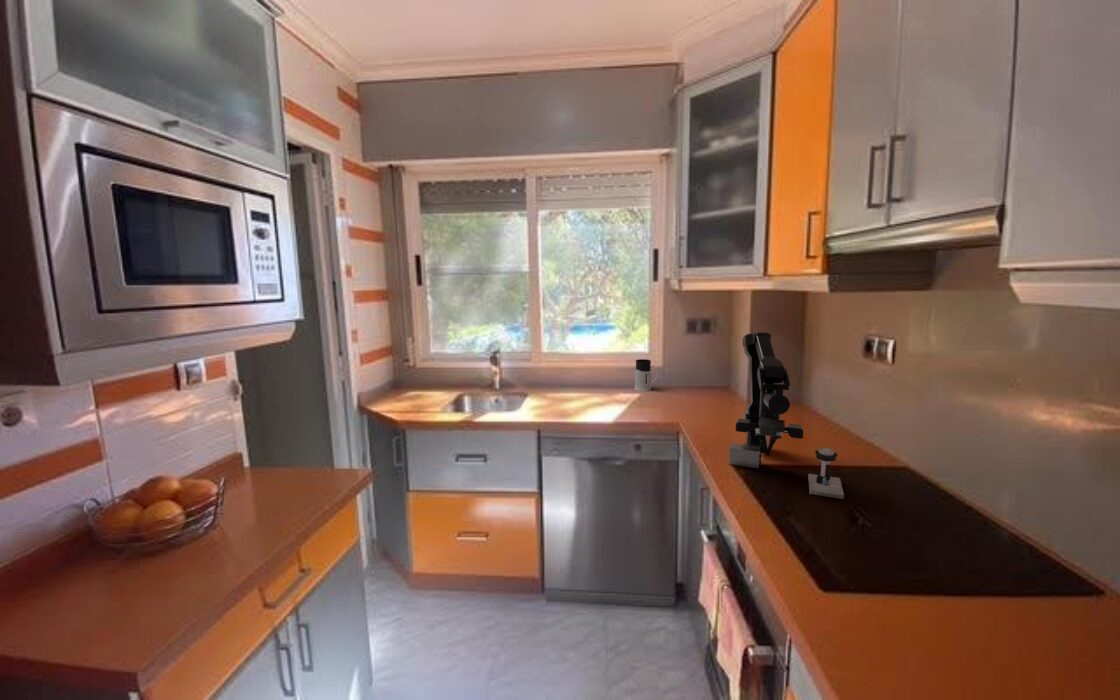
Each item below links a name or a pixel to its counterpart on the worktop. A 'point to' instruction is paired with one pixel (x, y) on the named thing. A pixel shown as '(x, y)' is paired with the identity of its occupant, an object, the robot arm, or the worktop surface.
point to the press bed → (825, 487)
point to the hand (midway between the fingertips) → (767, 455)
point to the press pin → (761, 458)
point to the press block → (744, 455)
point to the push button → (825, 464)
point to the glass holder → (643, 375)
